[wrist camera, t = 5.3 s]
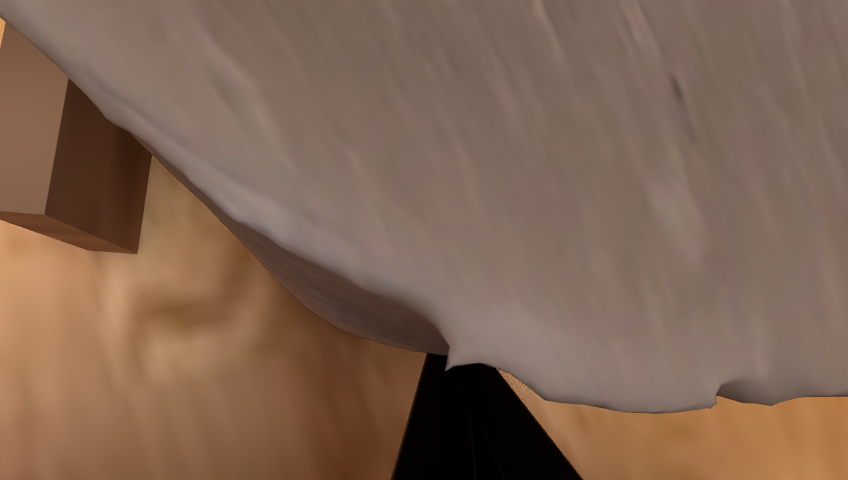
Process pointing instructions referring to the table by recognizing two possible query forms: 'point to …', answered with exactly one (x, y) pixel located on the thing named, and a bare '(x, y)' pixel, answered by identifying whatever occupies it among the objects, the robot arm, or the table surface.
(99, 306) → the table surface
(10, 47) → the holder
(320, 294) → the pillar candle
